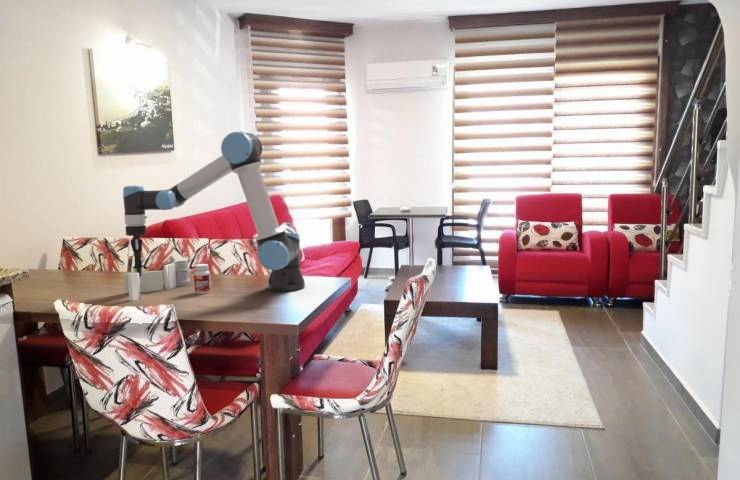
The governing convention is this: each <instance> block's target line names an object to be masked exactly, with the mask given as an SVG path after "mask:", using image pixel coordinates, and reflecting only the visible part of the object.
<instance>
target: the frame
mask: <svg viewBox="0 0 740 480" xmlns="http://www.w3.org/2000/svg"><path fill="white" fill-rule="evenodd" d="M132 273H133V274H129V275H128V285H129V293H128V297H129V298H128V299H129V301H130V302H134V301H138V300H140V299H141V292H140V282H139V273H135V272H132ZM163 278H164V279H163V280H164V281H163V283H164V291H168V290H172V289H174V288H177V287H176V271H175V264H174V263H171V264H165V265H163Z"/></svg>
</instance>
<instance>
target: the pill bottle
mask: <svg viewBox="0 0 740 480" xmlns="http://www.w3.org/2000/svg"><path fill="white" fill-rule="evenodd" d="M194 270H195V271H194V272H193V280H194V281H193V284H194V294H196V295H207V294H210V293H211V291H212V290H211V272H210V271H209V264H208V263H198V264H197V263H196V264H195V265H194Z"/></svg>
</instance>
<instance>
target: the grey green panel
mask: <svg viewBox="0 0 740 480" xmlns="http://www.w3.org/2000/svg"><path fill="white" fill-rule="evenodd" d="M142 272H143V284H140V293H148V292H157V291H164V284H163V283H164V281H163V280H164V279H163V278H164V276H163V270H152V271H151V270H150V271H142ZM133 273H134V272H128V273H124V280H125V281H124V283H125V294H126V295H127V294H128V295H129V285H128V275H129V274H133Z"/></svg>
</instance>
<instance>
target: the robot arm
mask: <svg viewBox="0 0 740 480" xmlns="http://www.w3.org/2000/svg"><path fill="white" fill-rule="evenodd" d="M220 151H221V154H222V155H220V156H219V157H218V158H216V159H214V160H213V161H211V162H209V163H208V164H207V165H205V166H203V167H201V168H200V169H198V170H197V171H195V172H193V173H192V174H191V175H189V176H188V177H186V178H184V179H183V180H181V181H180V182H178V183H177V184H176V185H173V186H172V187H170V188H169V189H160V190H145V189H144V186H143V185H125V186H124V187H123V188H122V191H123V194H122V199H123V208H124V215H123V216H124V224H125V235H126V236H128V237H132V238H133V239H131V241H130V242H131V245H132V247H131V248H132V252H133V255H134V258H133V259H134V266H133V267H132V268H133V269H134V273H139V282H140V284H143V272H144V271H143V268H144V267H145V266H144V264H143V263H142V251H143V239H142V238H140V236H145V235H147V225H146V223H147V222H146V219H148V216H146V211H149V210H150V211H152V210H153V211H155V210H156V211H161V210H162V211H168V210H172V209H174V208H179V207H181V206H183V205H184V204H186V202H187V201H189V200H190V199H191V198H192V197H194V196H195V195H198V194H199V193H201V192H202V191H204V190H205V189H207V188H208V187H210V186H212V185H213V184H214V183H217V182H218V181H220V180H221V179H223V178H224V177H226V176H228V175H229V174H231V173H234V174H236V175H237V177H238V180H239V182H240V185H241V189H242V191H243V194H244V196H245V201H246V203H247V206H248V209H249V212H250V215H251V218H252V221H253V223H254V226H255V230H256V232H257V236H256V239H255V242H256V245H257V247H258V250H257V259H258V261H259V263H260V264H261V265H262V267H264V269H267V270H271V271H270V275H269V278H268V281H267V290H270V291H274V292H292V291H299V290H302V289H304V288H305V287H306V281H305V278H304V275H303V272H302V270H301V253H300V251H301V250H300V248H301V247H300V246H301V245H300V242H301V241H300V233H298V232H286V230H285V229H284V228H281V227H280V224H279V222H278V218H277V216H276V213H275V210H274V207H273V204H272V201H271V198H270V196H269V192H268V189H267V187H266V184H265V181H264V177H263V174H262V171H261V169H260V168H261V165H262V164H263V162H262V159H261V156H262V154H263V144H262V142H261V140H260V138H259V137H257V135H255V134H253V133H249V132H244V131H234V132H230V133H228V134H227V135H226V136H224V138H223V139H222V142H221V145H220Z"/></svg>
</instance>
